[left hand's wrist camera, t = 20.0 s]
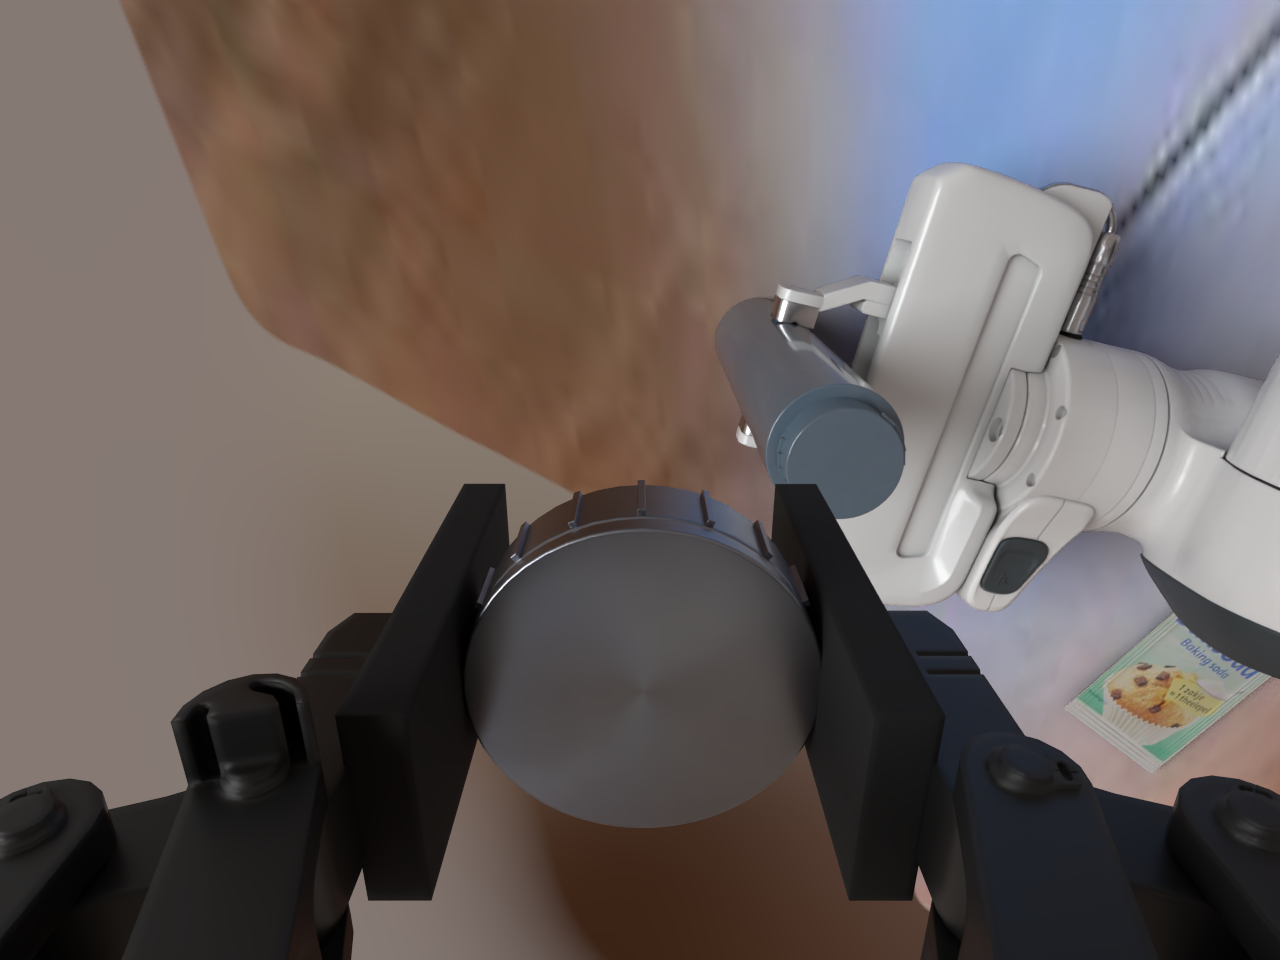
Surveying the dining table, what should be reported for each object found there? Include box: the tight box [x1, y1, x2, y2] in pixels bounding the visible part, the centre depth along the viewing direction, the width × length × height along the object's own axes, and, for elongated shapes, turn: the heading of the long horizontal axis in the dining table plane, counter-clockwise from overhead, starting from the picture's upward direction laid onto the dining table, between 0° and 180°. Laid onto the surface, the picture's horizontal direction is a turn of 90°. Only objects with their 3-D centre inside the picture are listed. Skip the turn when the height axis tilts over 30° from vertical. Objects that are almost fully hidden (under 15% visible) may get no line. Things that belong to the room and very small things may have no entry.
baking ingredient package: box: [1064, 613, 1271, 773], centre depth 49 cm, size 9×1×15 cm
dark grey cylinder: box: [715, 298, 906, 519], centre depth 33 cm, size 4×4×19 cm
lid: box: [463, 480, 822, 828], centre depth 11 cm, size 5×5×2 cm
